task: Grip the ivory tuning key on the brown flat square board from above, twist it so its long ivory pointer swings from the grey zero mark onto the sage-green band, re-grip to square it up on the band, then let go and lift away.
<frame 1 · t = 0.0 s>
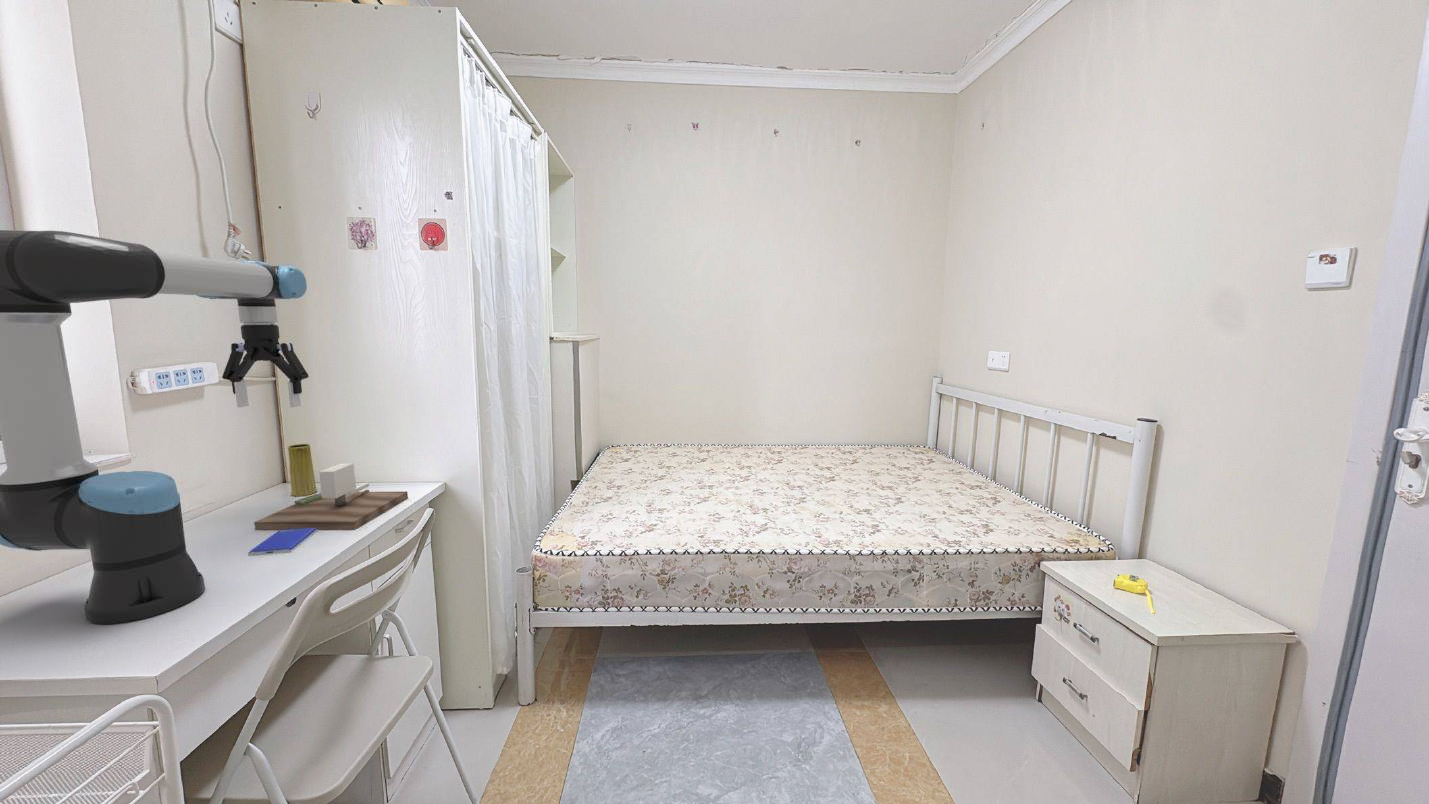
hand: (269, 406, 145), 28 cm above the table, fingers open, 13 cm apart
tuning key: (348, 481, 150), point 7 cm above the table, hinge at 0.0°
hard drive: (284, 546, 128), on the table
brown flat square board: (337, 512, 148), on the table
vase: (304, 493, 164), on the table
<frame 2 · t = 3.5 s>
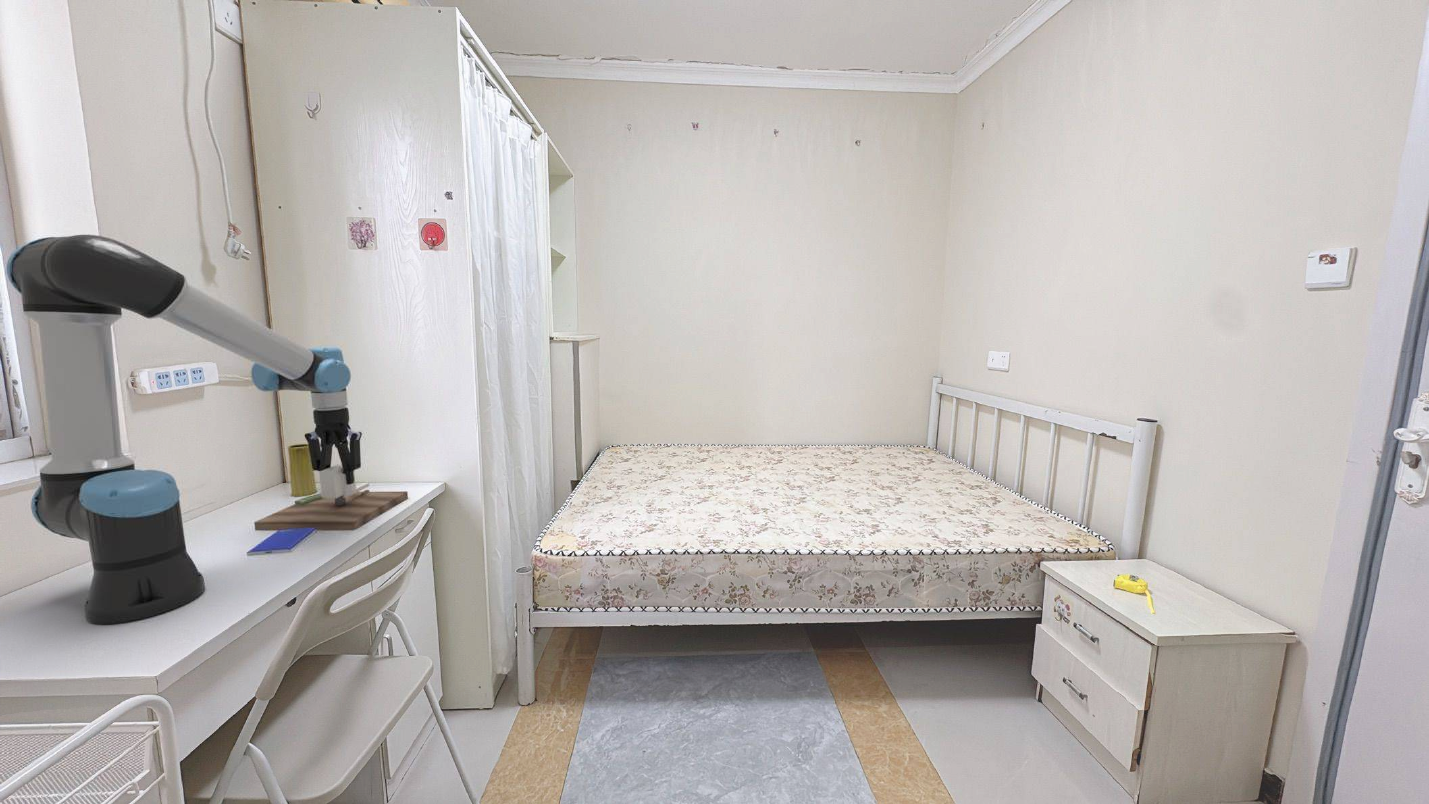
hand: (339, 496, 147), 5 cm above the table, fingers closed on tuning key, 4 cm apart
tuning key: (348, 481, 150), point 7 cm above the table, hinge at -0.1°, touching gripper
everything else where it was.
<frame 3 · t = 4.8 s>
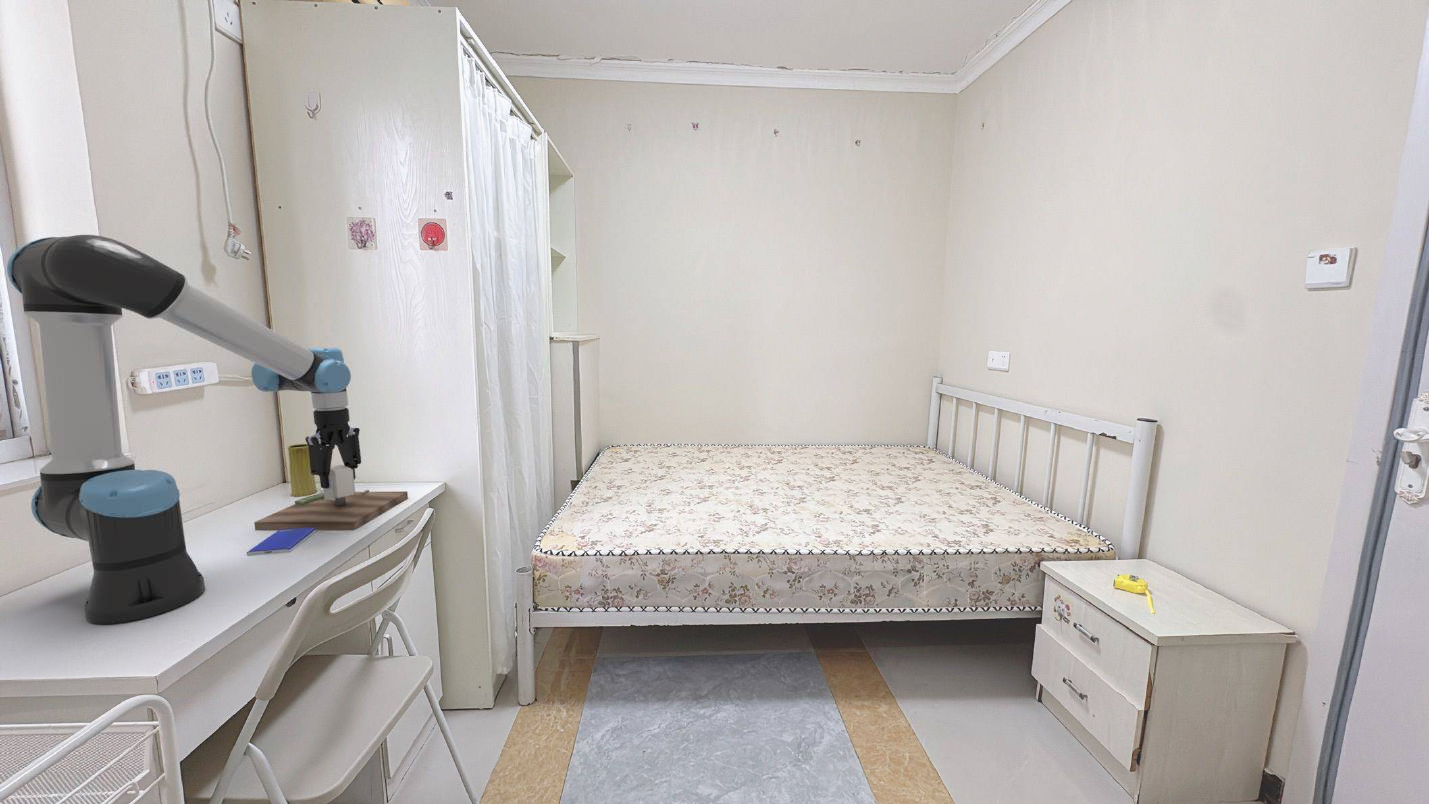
hand: (340, 495, 147), 5 cm above the table, fingers closed on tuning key, 5 cm apart
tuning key: (333, 483, 149), point 7 cm above the table, hinge at 53.1°, touching gripper
everything else where it was.
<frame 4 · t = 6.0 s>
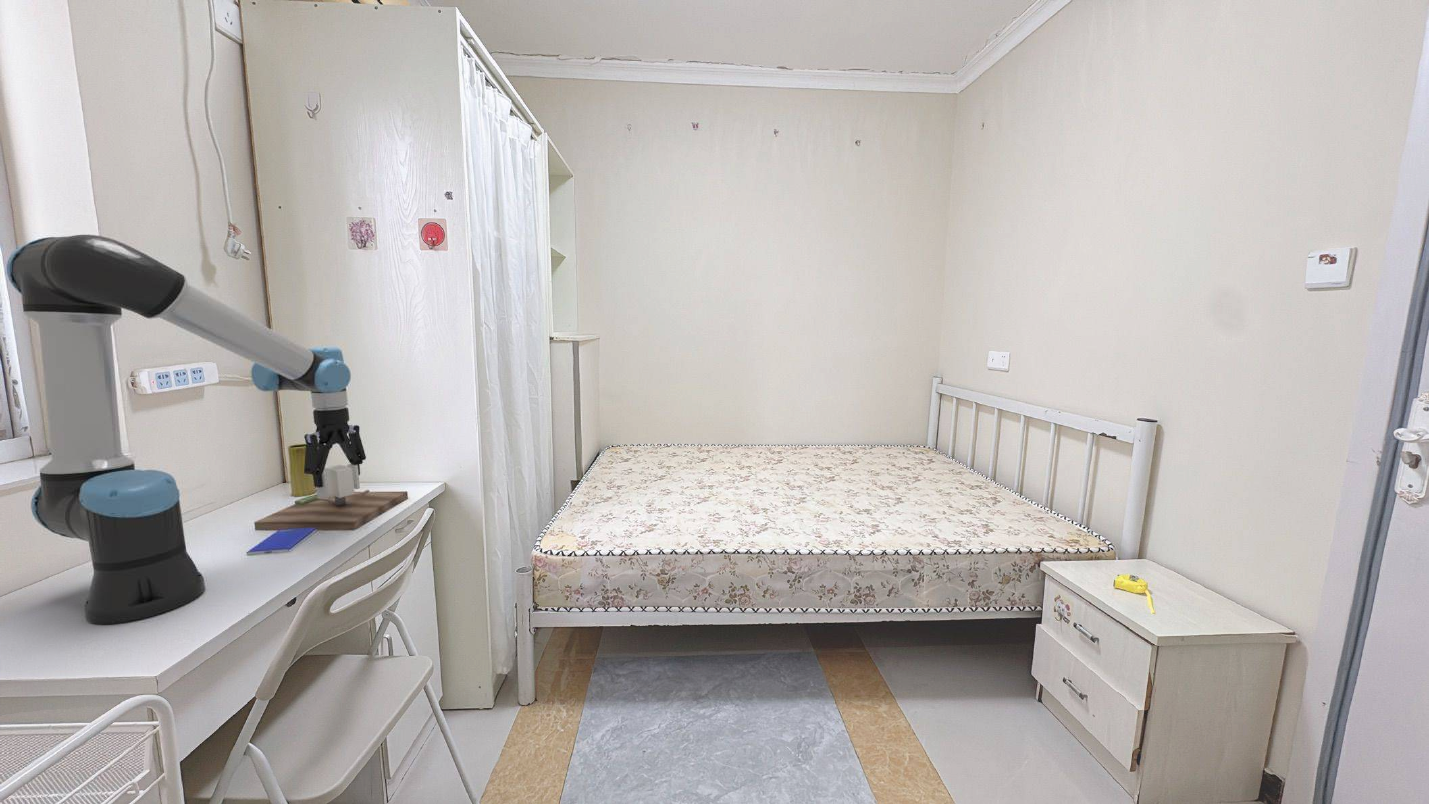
hand: (339, 493, 147), 5 cm above the table, fingers open, 8 cm apart
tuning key: (331, 483, 148), point 7 cm above the table, hinge at 57.4°
everything else where it was.
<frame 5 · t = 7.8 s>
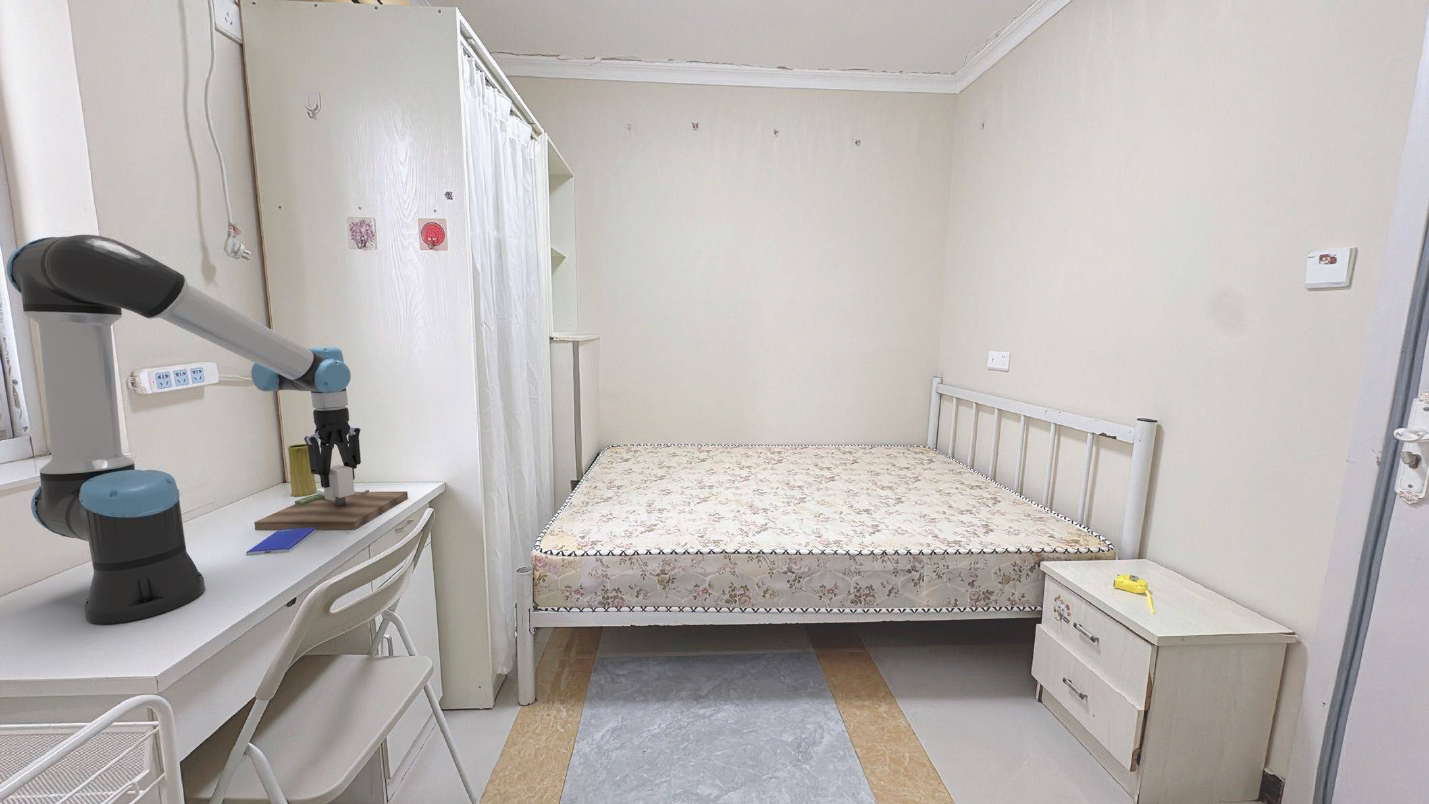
hand: (339, 495, 147), 5 cm above the table, fingers closed on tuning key, 4 cm apart
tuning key: (331, 483, 148), point 7 cm above the table, hinge at 58.0°, touching gripper
everything else where it was.
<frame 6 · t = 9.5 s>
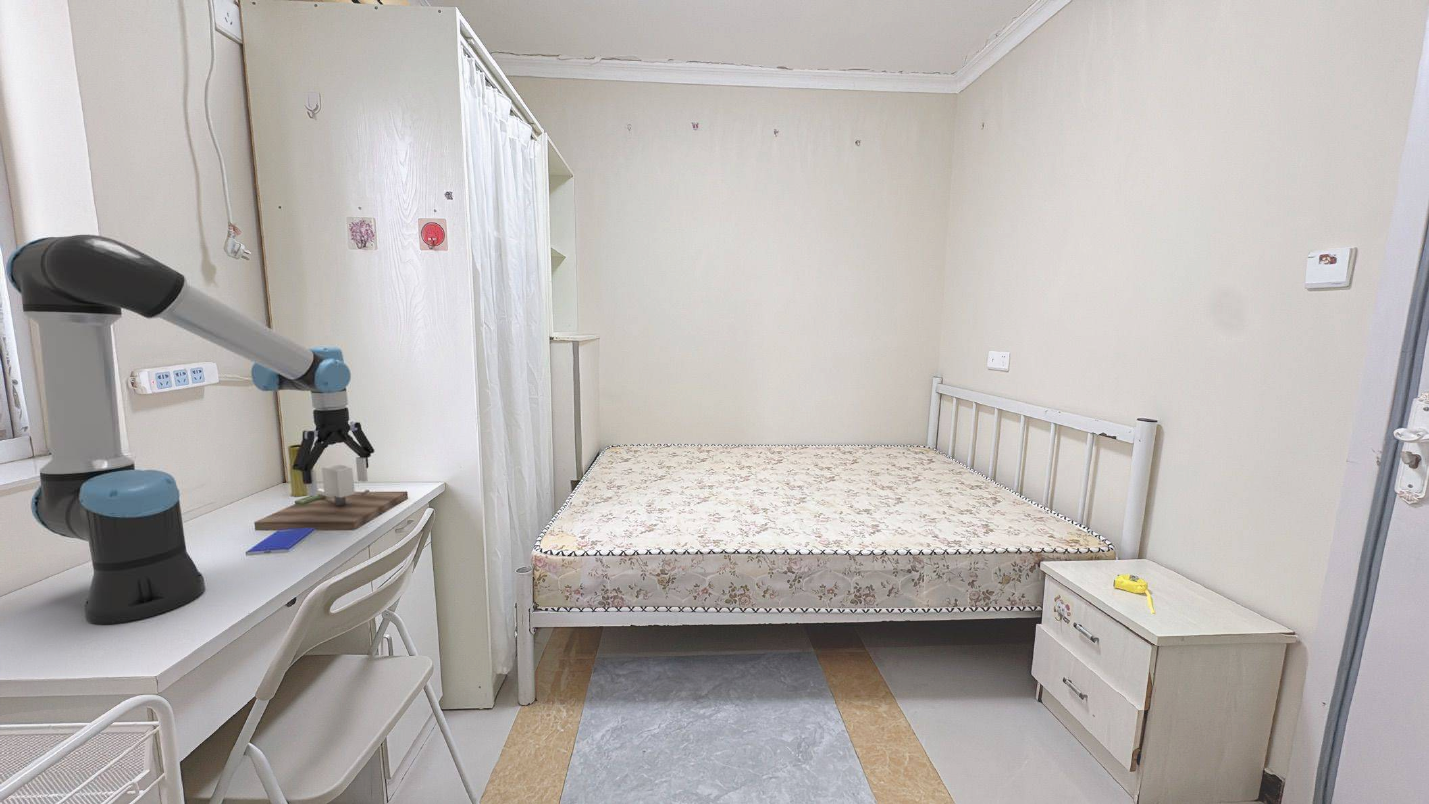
hand: (338, 488, 147), 7 cm above the table, fingers open, 13 cm apart
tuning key: (331, 483, 148), point 7 cm above the table, hinge at 58.4°
everything else where it was.
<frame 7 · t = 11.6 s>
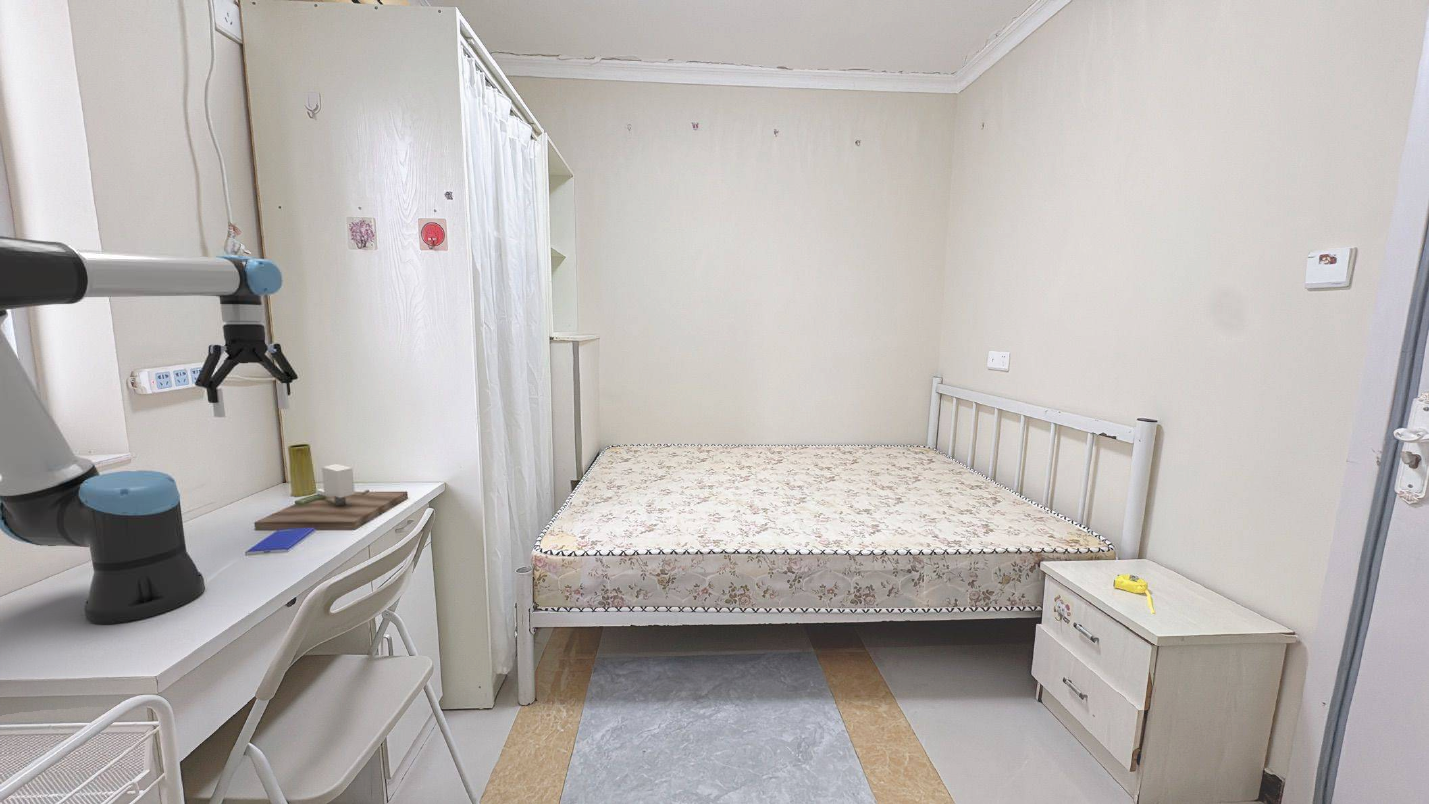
hand: (253, 412, 135), 28 cm above the table, fingers open, 13 cm apart
nothing on the table moved.
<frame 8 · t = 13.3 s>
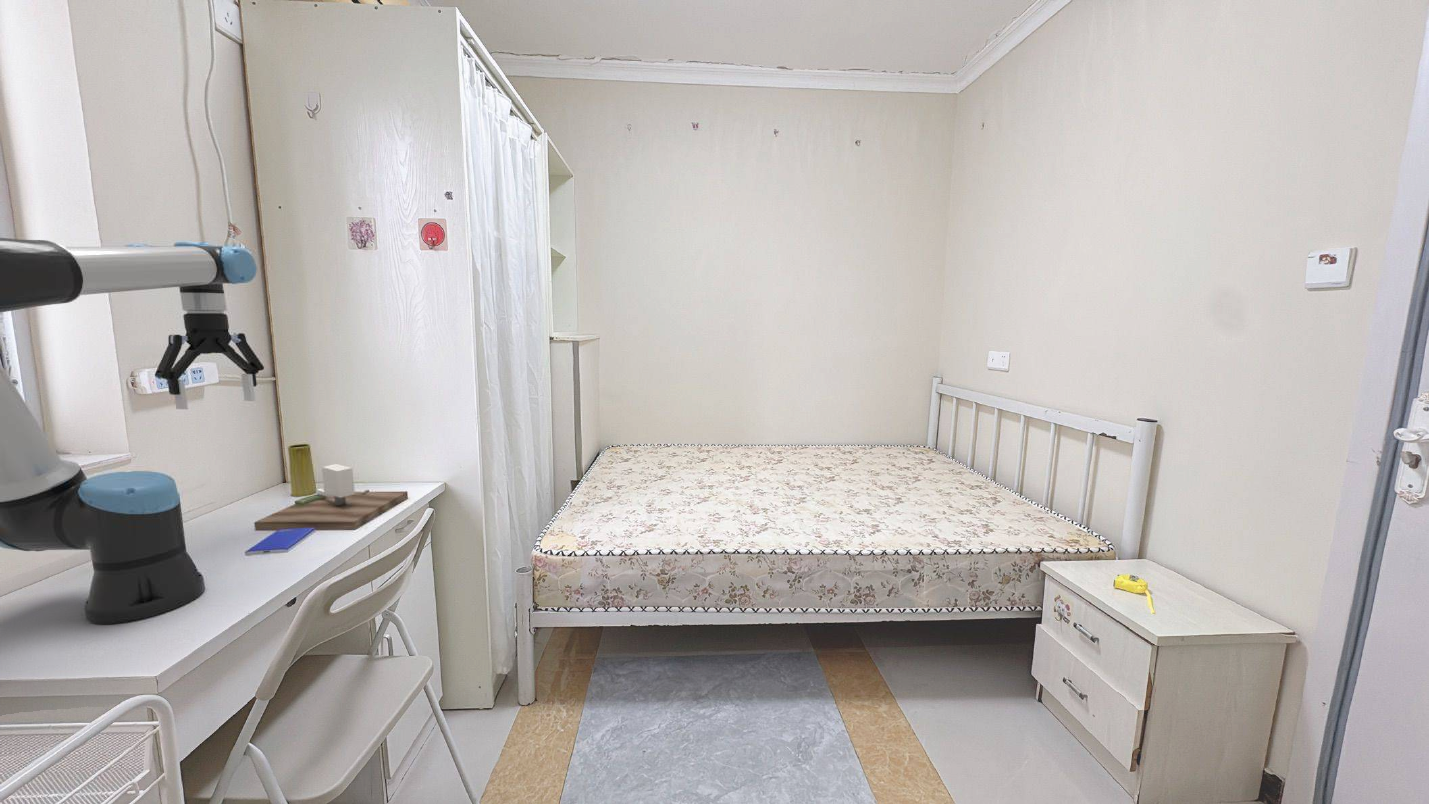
hand: (217, 404, 131), 31 cm above the table, fingers open, 13 cm apart
nothing on the table moved.
at the end: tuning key at +58° (first picture: +0°); the gripper is holding nothing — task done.
